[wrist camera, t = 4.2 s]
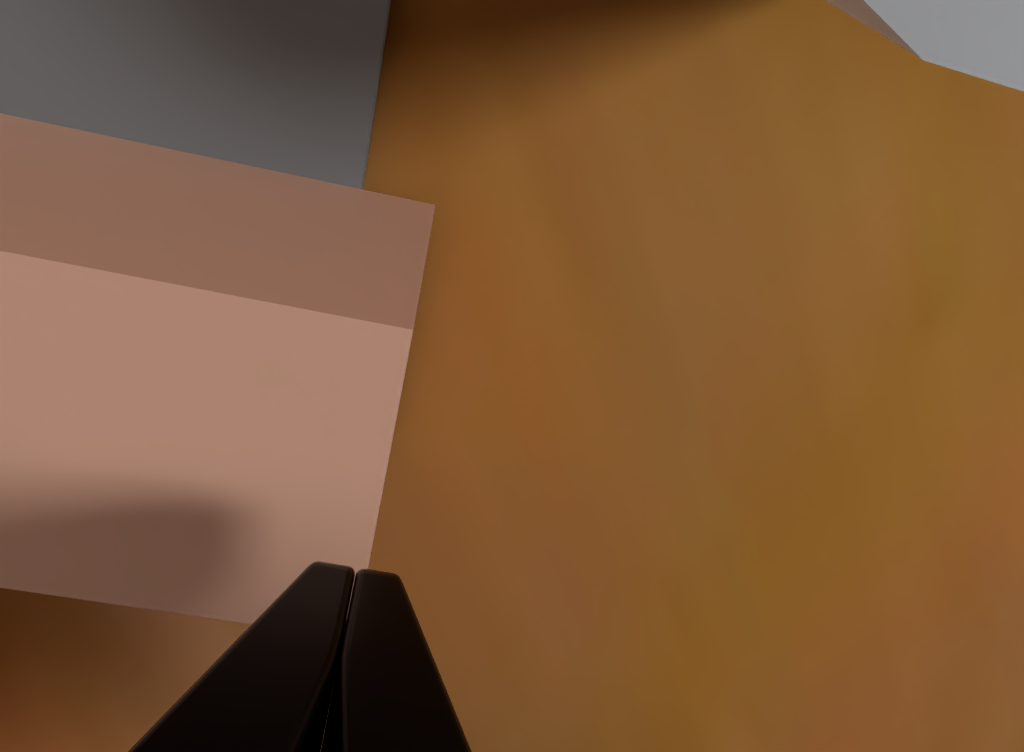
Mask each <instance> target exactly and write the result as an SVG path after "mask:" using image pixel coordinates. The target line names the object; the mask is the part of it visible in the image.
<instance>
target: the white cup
mask: <svg viewBox="0 0 1024 752" xmlns="http://www.w3.org/2000/svg"><path fill="white" fill-rule="evenodd" d="M826 1H827V2H829V3H831V4H832V5H834V6H836V7H837V8H839V9H841V10H842V11H844V12H845V13H847V14H849V15H850V16H852V17H854V18H855V19H857V20H858V21H860V22H862V23H863V24H865V25H867V26H868V27H870V28H871V29H873V30H875V31H876V32H878V33H880V34H881V35H883V36H885V37H886V38H888V39H889V40H891V41H893V42H894V43H896V44H898V45H899V46H901V47H902V48H904V49H906V50H907V51H909V52H911V53H912V54H914V55H915V56H917V57H919V58H920V59H922V60H924V61H927V62H931V63H934V64H937V65H940V66H943V67H947V68H950V69H953V70H956V71H959V72H963V73H966V74H969V75H972V76H975V77H979V78H982V79H985V80H988V81H991V82H995V83H998V84H1001V85H1004V86H1007V87H1011V88H1014V89H1017V90H1020V91H1023V92H1024V0H826Z"/></svg>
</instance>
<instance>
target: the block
mask: <svg viewBox="0 0 1024 752" xmlns="http://www.w3.org/2000/svg"><path fill="white" fill-rule="evenodd" d="M434 210H435V205H434V204H429V203H425V202H420V201H415V200H410V199H406V198H401V197H396V196H391V195H387V194H382V193H377V192H372V191H368V190H363V189H358V188H353V187H349V186H344V185H339V184H334V183H329V182H325V181H320V180H315V179H310V178H306V177H301V176H296V175H291V174H287V173H282V172H277V171H272V170H268V169H263V168H258V167H253V166H249V165H244V164H239V163H234V162H230V161H225V160H220V159H215V158H211V157H206V156H201V155H196V154H192V153H187V152H182V151H177V150H173V149H168V148H163V147H158V146H154V145H149V144H144V143H139V142H135V141H130V140H125V139H120V138H116V137H111V136H106V135H101V134H97V133H92V132H87V131H82V130H78V129H73V128H68V127H63V126H59V125H54V124H49V123H44V122H39V121H35V120H30V119H25V118H20V117H16V116H11V115H6V114H1V113H0V588H6V589H13V590H19V591H26V592H33V593H40V594H47V595H54V596H61V597H67V598H74V599H81V600H88V601H95V602H102V603H109V604H115V605H122V606H129V607H136V608H143V609H150V610H157V611H163V612H170V613H177V614H184V615H191V616H198V617H205V618H211V619H218V620H225V621H232V622H239V623H246V624H253V623H254V622H255V620H256V619H257V618H258V617H259V616H260V615H261V614H262V613H263V612H264V611H265V610H266V609H267V608H268V607H269V606H270V605H271V604H272V603H273V602H274V601H275V600H276V599H277V598H278V597H279V596H280V595H281V594H282V593H283V592H284V591H285V590H286V589H287V587H288V586H289V585H290V584H291V583H292V582H293V581H294V580H295V579H296V578H297V577H298V576H299V575H300V574H301V573H302V572H303V571H304V570H305V569H306V568H307V567H308V566H309V565H310V564H311V563H313V562H316V561H321V562H327V563H333V564H339V565H346V566H350V567H352V568H353V569H354V571H355V575H356V573H357V572H358V571H359V570H360V569H368V565H369V560H370V555H371V549H372V544H373V539H374V534H375V528H376V523H377V518H378V513H379V507H380V502H381V497H382V492H383V486H384V481H385V476H386V470H387V465H388V460H389V455H390V449H391V444H392V439H393V434H394V428H395V423H396V418H397V413H398V407H399V402H400V397H401V392H402V386H403V381H404V376H405V370H406V365H407V360H408V355H409V349H410V344H411V339H412V334H413V328H414V323H415V317H416V311H417V306H418V300H419V295H420V289H421V283H422V278H423V272H424V267H425V261H426V255H427V250H428V244H429V238H430V233H431V227H432V222H433V216H434ZM354 580H355V577H354ZM353 585H354V583H353ZM352 590H353V588H352ZM351 595H352V593H351ZM350 600H351V598H350ZM349 605H350V603H349ZM348 610H349V609H348ZM347 615H348V614H347ZM346 620H347V619H346ZM345 625H346V624H345Z"/></svg>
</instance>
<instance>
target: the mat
mask: <svg viewBox="0 0 1024 752" xmlns="http://www.w3.org/2000/svg"><path fill="white" fill-rule="evenodd" d="M390 6H391V0H0V113H1V114H6V115H11V116H16V117H20V118H25V119H30V120H35V121H39V122H44V123H49V124H54V125H59V126H63V127H68V128H73V129H78V130H82V131H87V132H92V133H97V134H101V135H106V136H111V137H116V138H120V139H125V140H130V141H135V142H139V143H144V144H149V145H154V146H158V147H163V148H168V149H173V150H177V151H182V152H187V153H192V154H196V155H201V156H206V157H211V158H215V159H220V160H225V161H230V162H234V163H239V164H244V165H249V166H253V167H258V168H263V169H268V170H272V171H277V172H282V173H287V174H291V175H296V176H301V177H306V178H310V179H315V180H320V181H325V182H329V183H334V184H339V185H344V186H349V187H353V188H358V189H363V186H364V179H365V172H366V166H367V159H368V152H369V146H370V139H371V132H372V126H373V119H374V112H375V106H376V99H377V92H378V86H379V79H380V72H381V66H382V59H383V52H384V46H385V39H386V32H387V26H388V19H389V12H390Z"/></svg>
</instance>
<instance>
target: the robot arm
mask: <svg viewBox="0 0 1024 752" xmlns="http://www.w3.org/2000/svg"><path fill="white" fill-rule="evenodd" d="M354 577H355V580H354ZM353 583H354V585H353ZM352 588H353V590H352ZM351 593H352V595H351ZM350 598H351V600H350ZM349 603H350V605H349ZM348 609H349V610H348ZM347 614H348V615H347ZM346 619H347V620H346ZM345 624H346V625H345ZM333 685H334V686H333ZM332 690H333V691H332ZM331 695H332V696H331ZM330 700H331V701H330ZM329 705H330V706H329ZM328 710H329V711H328ZM327 715H328V717H327ZM326 720H327V722H326ZM325 725H326V727H325ZM324 730H325V732H324ZM323 735H324V737H323ZM322 740H323V742H322ZM321 745H322V748H321ZM320 750H321V752H471V749H470V747H469V744H468V742H467V739H466V737H465V735H464V732H463V730H462V727H461V725H460V722H459V720H458V717H457V715H456V712H455V710H454V708H453V705H452V703H451V700H450V698H449V695H448V693H447V690H446V688H445V685H444V683H443V681H442V678H441V676H440V673H439V671H438V668H437V666H436V663H435V661H434V659H433V656H432V654H431V651H430V649H429V646H428V644H427V641H426V639H425V636H424V634H423V632H422V629H421V627H420V624H419V622H418V619H417V617H416V614H415V612H414V610H413V607H412V605H411V602H410V600H409V597H408V595H407V592H406V590H405V587H404V585H403V583H402V581H401V579H400V577H399V576H398V575H396V574H394V573H389V572H382V571H376V570H370V569H360V570H359V571H358V572H357V573H356V575H355V571H354V569H353V568H352V567H350V566H346V565H339V564H333V563H327V562H321V561H316V562H313V563H311V564H310V565H309V566H308V567H307V568H306V569H305V570H304V571H303V572H302V573H301V574H300V575H299V576H298V577H297V578H296V579H295V580H294V581H293V582H292V583H291V584H290V585H289V586H288V587H287V589H286V590H285V591H284V592H283V593H282V594H281V595H280V596H279V597H278V598H277V599H276V600H275V601H274V602H273V603H272V604H271V605H270V606H269V607H268V608H267V609H266V610H265V611H264V612H263V613H262V614H261V615H260V616H259V617H258V618H257V619H256V620H255V622H254V623H253V624H252V625H251V626H250V627H249V628H248V629H247V630H246V631H245V632H244V633H243V634H242V635H241V636H240V637H239V638H238V639H237V640H236V641H235V642H234V643H233V644H232V645H231V646H230V647H229V648H228V649H227V650H226V651H225V652H224V653H223V654H222V656H221V657H220V658H219V659H218V660H217V661H216V662H215V663H214V664H213V665H212V666H211V667H210V668H209V669H208V670H207V671H206V672H205V673H204V674H203V675H202V676H201V677H200V678H199V679H198V680H197V681H196V682H195V683H194V684H193V685H192V686H191V687H190V688H189V690H188V691H187V692H186V693H185V694H184V695H183V696H182V697H181V698H180V699H179V700H178V701H177V702H176V703H175V704H174V705H173V706H172V707H171V708H170V709H169V710H168V711H167V712H166V713H165V714H164V715H163V716H162V717H161V718H160V719H159V720H158V721H157V722H156V724H155V725H154V726H153V727H152V728H151V729H150V730H149V731H148V732H147V733H146V734H145V735H144V736H143V737H142V738H141V739H140V740H139V741H138V742H137V743H136V744H135V745H134V746H133V747H132V748H131V749H130V750H129V751H128V752H320Z"/></svg>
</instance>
